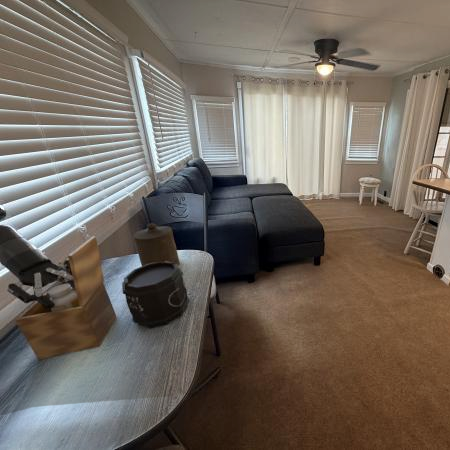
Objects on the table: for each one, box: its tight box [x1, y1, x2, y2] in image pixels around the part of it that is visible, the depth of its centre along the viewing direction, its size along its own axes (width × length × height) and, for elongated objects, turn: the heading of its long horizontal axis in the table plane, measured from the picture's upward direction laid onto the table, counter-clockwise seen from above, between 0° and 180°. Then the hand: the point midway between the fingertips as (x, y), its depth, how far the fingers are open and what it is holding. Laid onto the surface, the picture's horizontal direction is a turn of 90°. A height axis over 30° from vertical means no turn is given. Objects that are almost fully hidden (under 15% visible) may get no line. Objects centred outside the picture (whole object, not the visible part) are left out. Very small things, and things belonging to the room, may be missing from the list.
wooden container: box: [133, 222, 181, 266], centre depth 107 cm, size 15×15×22 cm
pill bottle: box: [47, 283, 80, 312], centre depth 70 cm, size 6×6×12 cm
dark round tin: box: [121, 261, 190, 329], centre depth 81 cm, size 18×18×16 cm
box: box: [14, 282, 118, 361], centre depth 71 cm, size 15×13×14 cm
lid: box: [67, 235, 105, 307], centre depth 68 cm, size 16×13×1 cm
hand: (67, 298), depth 68 cm, fingers closed on pill bottle, 6 cm apart
